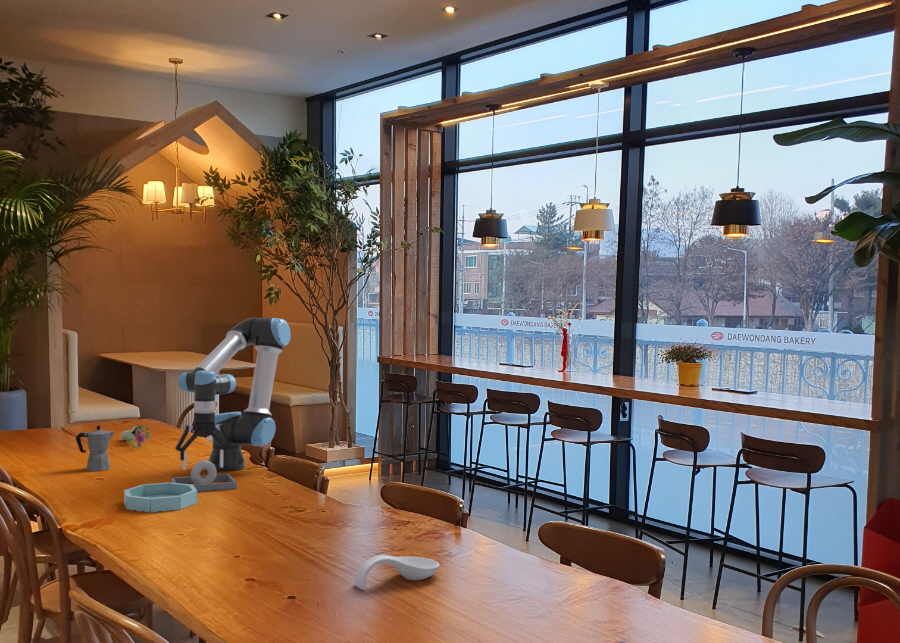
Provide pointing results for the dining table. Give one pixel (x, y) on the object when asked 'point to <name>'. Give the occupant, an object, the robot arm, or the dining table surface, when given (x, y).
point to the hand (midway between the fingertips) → (203, 468)
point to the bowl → (160, 497)
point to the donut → (199, 467)
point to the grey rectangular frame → (210, 487)
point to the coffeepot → (96, 448)
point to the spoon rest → (399, 568)
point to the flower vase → (135, 435)
